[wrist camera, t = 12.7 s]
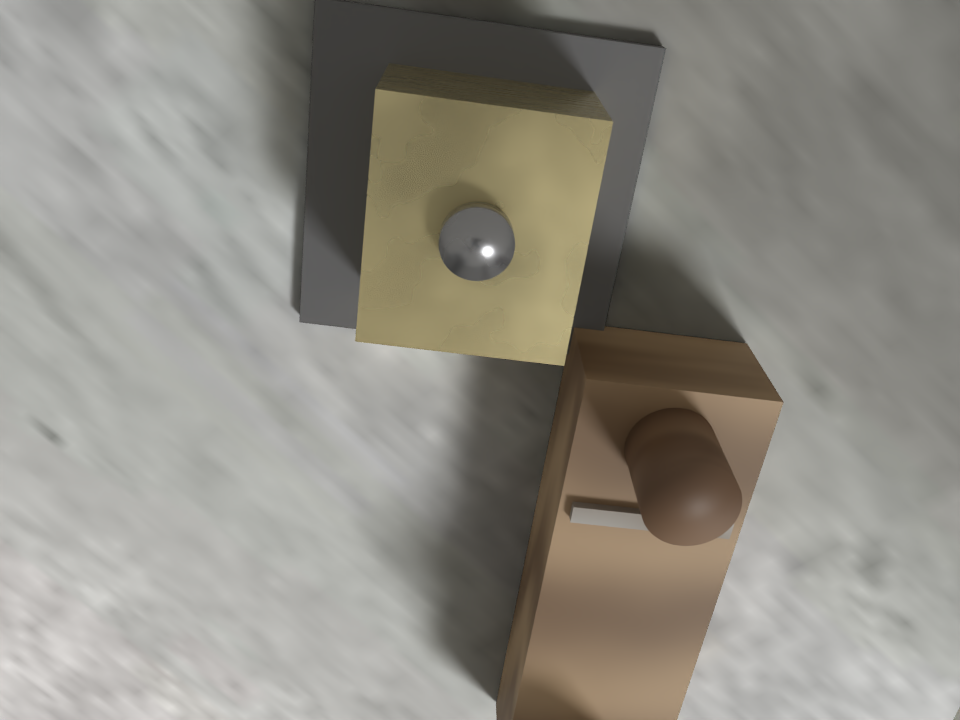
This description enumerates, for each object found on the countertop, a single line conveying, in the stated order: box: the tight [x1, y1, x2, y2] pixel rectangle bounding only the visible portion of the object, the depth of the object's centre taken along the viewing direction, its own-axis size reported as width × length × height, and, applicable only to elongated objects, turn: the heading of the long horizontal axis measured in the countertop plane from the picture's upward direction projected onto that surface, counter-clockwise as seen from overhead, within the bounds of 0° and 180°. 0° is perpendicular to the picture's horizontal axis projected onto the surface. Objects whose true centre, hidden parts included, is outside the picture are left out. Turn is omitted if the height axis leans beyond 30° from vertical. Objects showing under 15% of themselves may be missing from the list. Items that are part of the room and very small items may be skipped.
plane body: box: [496, 326, 783, 720], centre depth 30 cm, size 18×6×8 cm, turn 172°
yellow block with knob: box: [355, 63, 613, 366], centre depth 25 cm, size 7×6×5 cm
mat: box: [300, 0, 666, 354], centre depth 28 cm, size 10×10×1 cm
